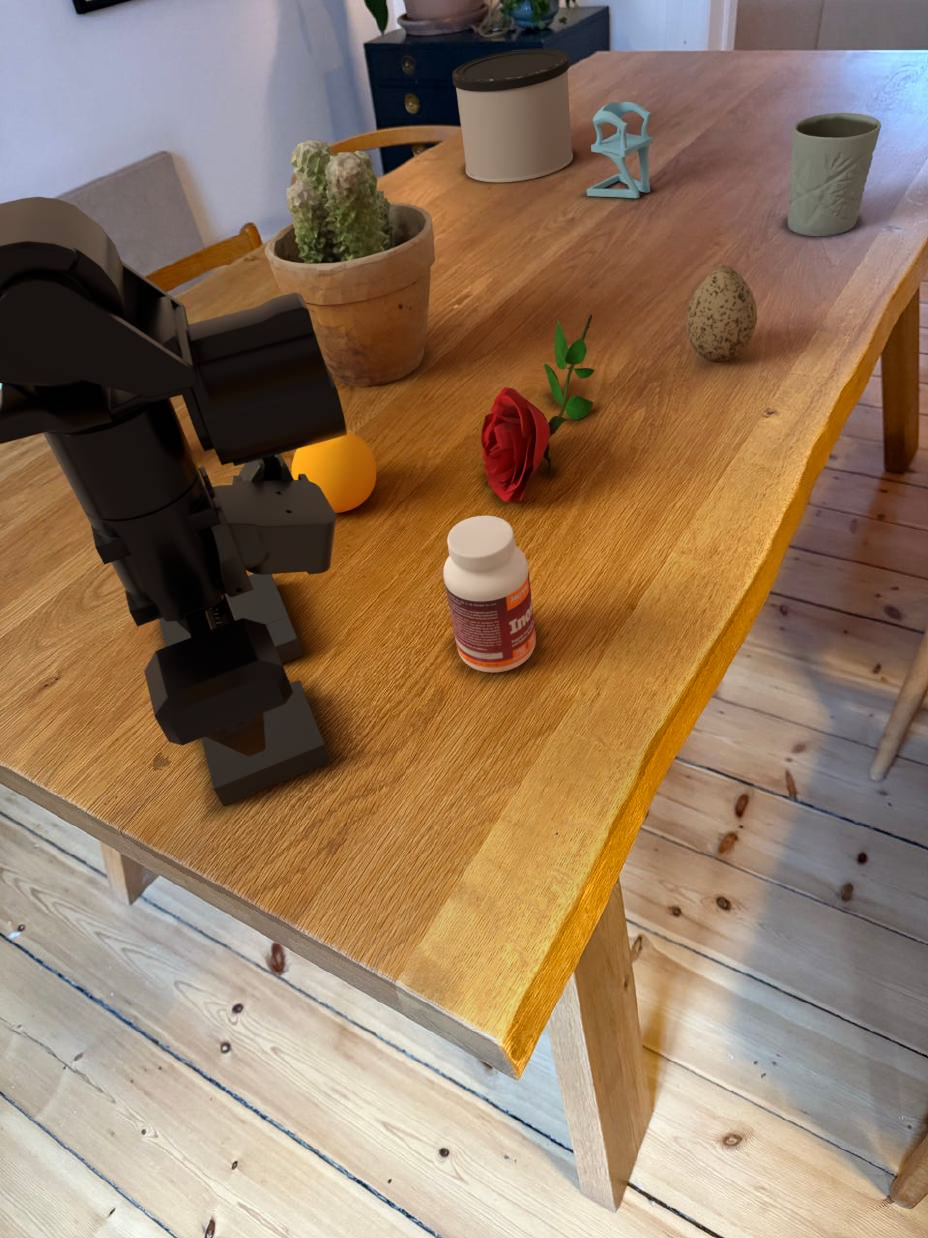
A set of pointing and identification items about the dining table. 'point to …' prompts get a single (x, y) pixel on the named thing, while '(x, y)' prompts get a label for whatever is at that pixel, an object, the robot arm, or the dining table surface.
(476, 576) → the pill bottle
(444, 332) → the dining table surface
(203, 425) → the robot arm
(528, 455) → the flower
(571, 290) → the dining table surface
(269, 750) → the dark grey tabbed block
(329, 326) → the potted plant
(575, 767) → the dining table surface
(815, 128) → the green embossed vase
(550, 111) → the container
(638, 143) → the chair
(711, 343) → the decorative egg
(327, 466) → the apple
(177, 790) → the dining table surface
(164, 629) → the dark grey notched block
